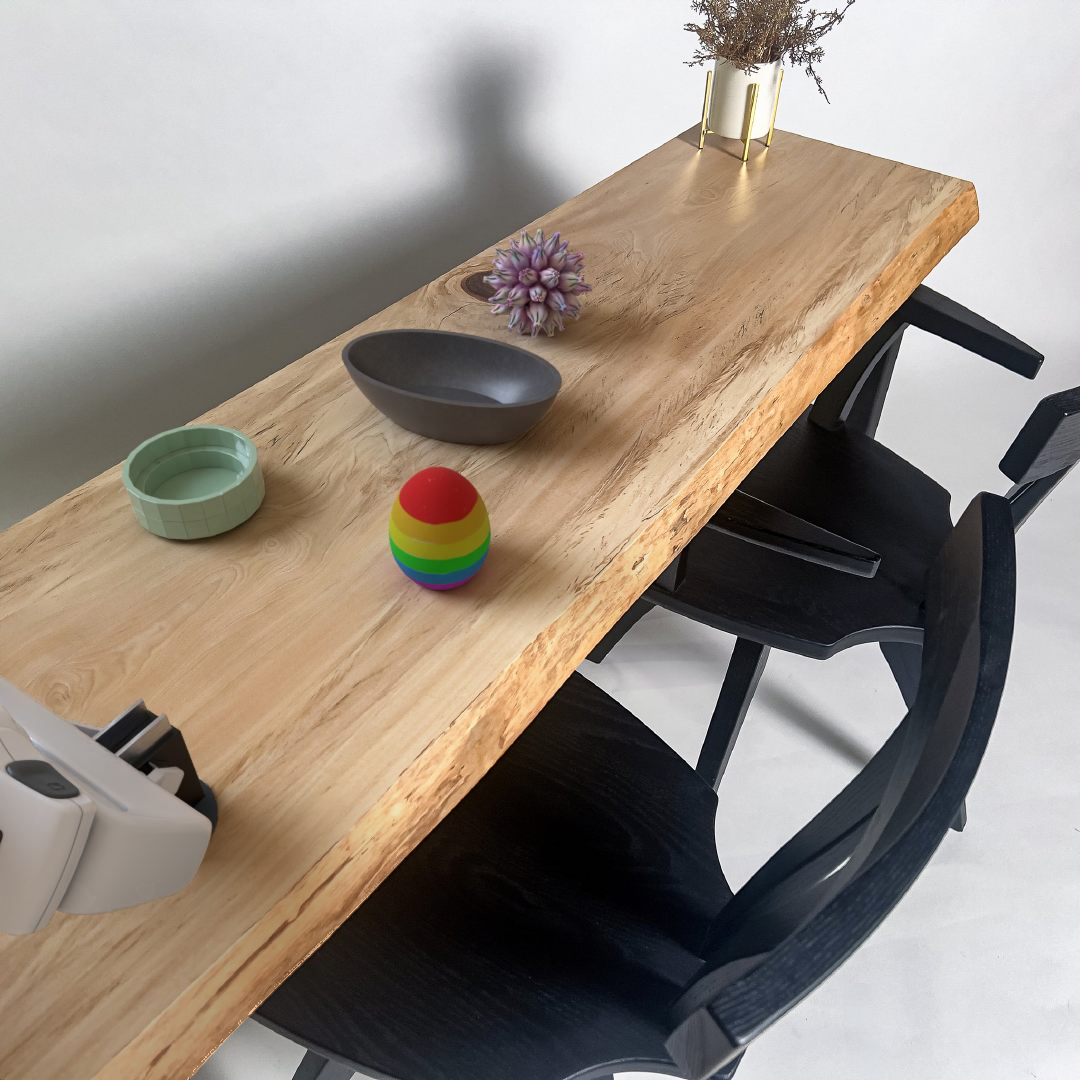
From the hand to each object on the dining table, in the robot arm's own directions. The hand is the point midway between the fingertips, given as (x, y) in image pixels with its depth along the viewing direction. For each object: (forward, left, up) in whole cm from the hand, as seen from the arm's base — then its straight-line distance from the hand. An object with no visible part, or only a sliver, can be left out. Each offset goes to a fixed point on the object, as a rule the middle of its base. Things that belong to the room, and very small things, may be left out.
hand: (147, 761), depth 59 cm
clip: (-1, 0, -5) cm, 5 cm away
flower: (+63, +22, -6) cm, 67 cm away
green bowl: (+20, +25, -6) cm, 33 cm away
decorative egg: (+28, +3, -6) cm, 29 cm away
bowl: (+44, +17, -6) cm, 48 cm away
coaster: (-1, 0, -6) cm, 6 cm away
